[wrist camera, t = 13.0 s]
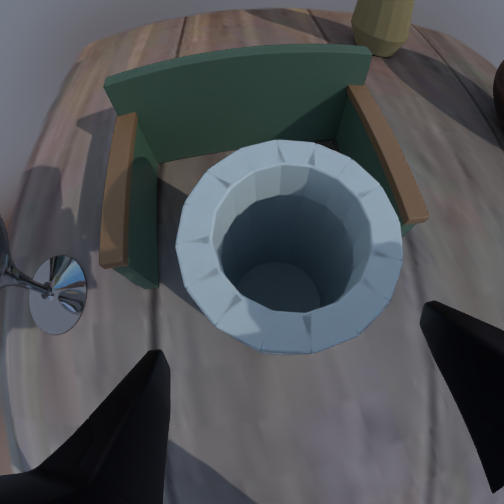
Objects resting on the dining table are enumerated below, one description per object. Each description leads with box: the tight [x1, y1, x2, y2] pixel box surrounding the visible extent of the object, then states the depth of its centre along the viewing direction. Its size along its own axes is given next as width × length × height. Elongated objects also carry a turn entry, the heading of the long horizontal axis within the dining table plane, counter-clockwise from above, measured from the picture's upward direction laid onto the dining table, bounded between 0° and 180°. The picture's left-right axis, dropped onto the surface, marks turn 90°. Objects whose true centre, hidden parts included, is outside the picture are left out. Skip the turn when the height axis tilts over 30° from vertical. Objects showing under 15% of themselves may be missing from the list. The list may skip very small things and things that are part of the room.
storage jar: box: [175, 140, 403, 355], centre depth 15 cm, size 7×7×13 cm
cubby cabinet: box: [99, 44, 429, 289], centre depth 19 cm, size 13×19×10 cm
